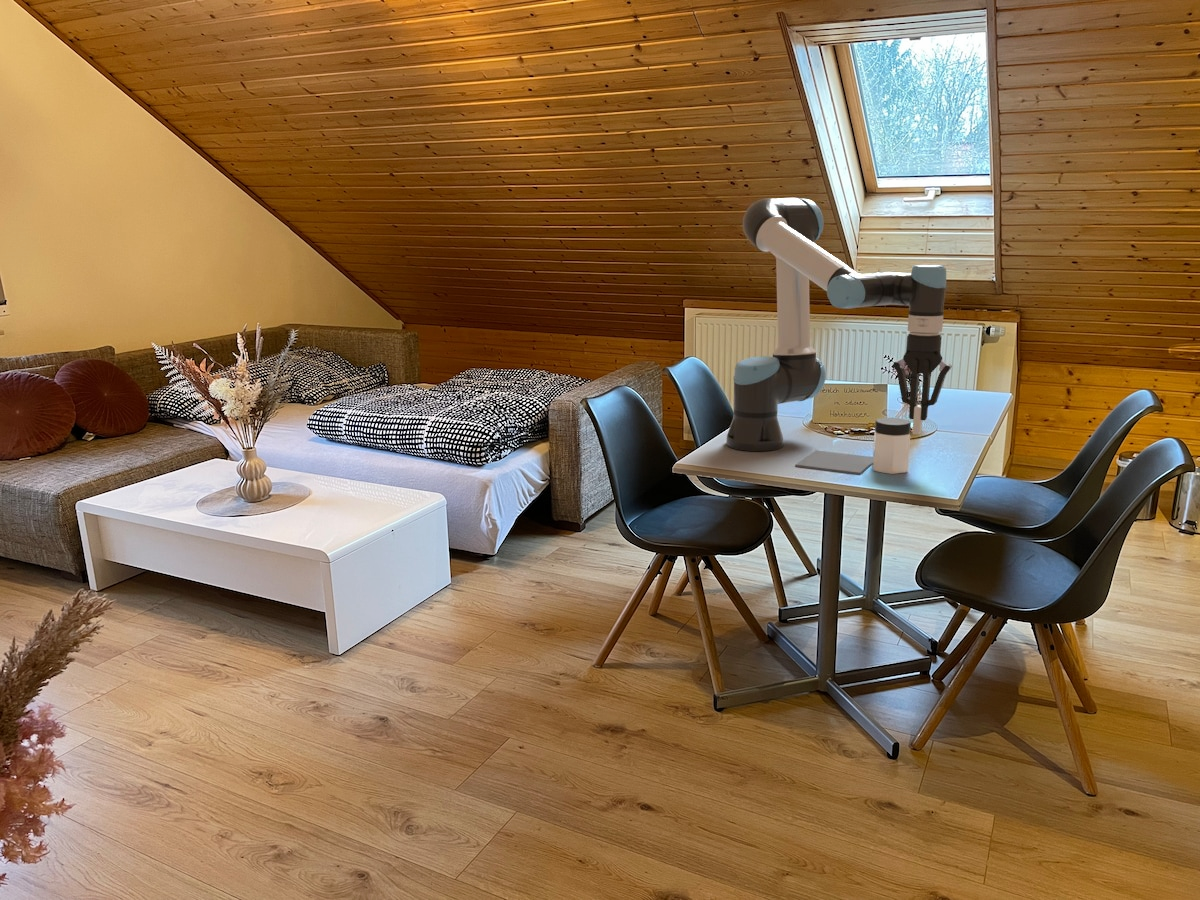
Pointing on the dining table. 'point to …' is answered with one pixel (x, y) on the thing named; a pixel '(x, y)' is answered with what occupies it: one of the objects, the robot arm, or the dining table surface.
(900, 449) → the jar
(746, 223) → the robot arm
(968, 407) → the dining table surface
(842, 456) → the mat
